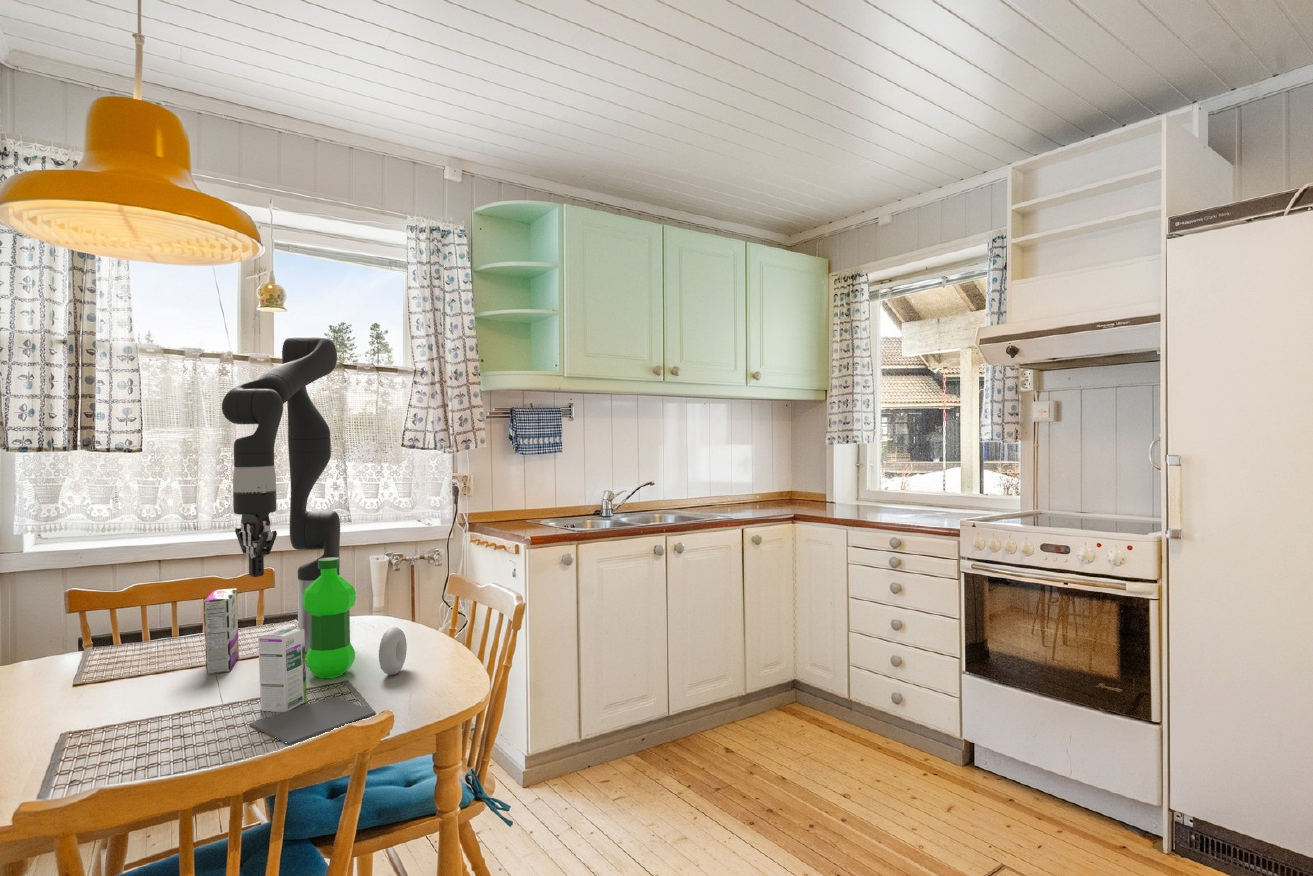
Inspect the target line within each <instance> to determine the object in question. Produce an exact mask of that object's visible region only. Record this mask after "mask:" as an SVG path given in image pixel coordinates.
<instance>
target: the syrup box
mask: <svg viewBox="0 0 1313 876" xmlns="http://www.w3.org/2000/svg"><path fill="white" fill-rule="evenodd" d="M257 639H258V640H257V641H258V665H259V666H258V668H259V672H258V673H259V691H260V692H259V694H260V695H259V696H260V697H259V698H260V700H259V701H260V710H261V711H262V712H268V711H271V712H270V713H282V712H286V711H289V710H292V709H296V708H298V706H299V707H300V705H302V704H304V703H306V702H307V698H308V697H307V680H306V679H307V677H306V676H307V675H306V674H307V670H306V669H307V668H306V667H307V665H306V652H305V638H304V629H302V628H298V627H295V626H294V627H293V626H292V627H290V626H289V627H288V626H287V627H286V626H285V627H279V628H277V629H275V630H271V631H268V632H267V633H266V632H265V633H264V634H260V635H258V638H257Z"/></svg>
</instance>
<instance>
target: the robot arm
mask: <svg viewBox="0 0 1313 876" xmlns="http://www.w3.org/2000/svg"><path fill="white" fill-rule="evenodd" d="M281 358H282V359H281V360H282V364H279V365H276V366H273V367H272V368H270V369H269V370H267V371H265V372H264V373H263V374H262V375H260V377H258V378H257V379H254V380H251V381H248V382H245V383H243V384H241V385H238V386H236V387H233V388H231V389H230V390H229V391H228V392H227V393H226V394H225V396H224V397H223V399H222V403H221V411H222V414H223V416H224V418H225V419H226V420H227V421H229V422H230V423H232V424H235V425H257V427H256V429H255V432H254V433H253V434H250V435H246V436H241V437H239V438H237V439H235V441H234V443H233V475H232V498H233V499H232V503H233V505H232V507H233V514H235V515H241V520H240V527H235V530H234V532H235V535H236V539H237V540H238V543H239V547H240V549H241V552H242V553H243V555H245V554H246V558H248V576H250V577H253V578H257V577H263V576H264V574H265V564H264V563H265V561H264V557H266V556H267V555H270V554H271V551H272V549H273V547H274V544H275V540H276V538H277V536H278V533H277V530H272V529H271V519H270V514H272V513H275V512H277V507H278V506H277V475H276V470H275V443H276V438H277V435H278V430H279V426H280V423H281V420H282V417H283V412H284V404H287V443H288V445H287V447H288V448H287V450H288V460H289V461H288V462H289V463H288V464H289V474H290V475H289V476H290V477H289V479H290V503H289V506H290V508H289V541H290V545H291V546H292V548H293V549H294V550H298V551H305V550H306V551H307V550H323V554H322V555H321V556H319V557H318V558H317V559H315V560H312V561H310V562H307V563H305V564H302V565H301V566H299V567H298V569H297V591H298V592H297V593H298V594H297V595H298V596H297V600H298V601H297V602H298V608H297V628H302V629H304V638H305V653H307V651H308V649H309V648H310V614H309V613H308V612H307V611H306V610H305V609H304V605H303V594H304V591H305V589H306V588H307V587H308V586H309V585H310V584H312V583H313V582H314V581H315V580H316V579H317V578H318V577H320V576H321V569H319V568H318V560H319V559H322V558H331V557H336V558H339V559H340V545H341V544H340V542H341V541H340V540H341V520H340V516H339V513H338V512H337V511H335V510H314V511H313V510H312V511H311V510H310V511H307V505H308V499H309V496H310V495H311V492H312V490H313V488H314V487H315V486H314V485H315V484H316V483H317V481H318V480H319V478H320V476H321V475H322V474H323V472H324V471H325V469H326V468H327V466H328V464H329V462H330V460H331V457H332V446H331V445H332V443H331V429H330V427H329V425H328V423H327V422H326V420H325V418H324V417H323V416H322V414H321V413H320V411H319V409H317V408H316V406H315V404H314V403H313V401H312V399H311V398H310V396H309V394H308V390H307V387H306V386H307V385H308V386H309V385H310V384H312V383H313V382H315V381H317V380H319V379H321V378H323V377H325V376H327V375H328V376H329V374H331V373H332V372H333V371H334V370H335V368H336V365H337V362H338V353H337V348H336V345H335V343H334V342H333V340H331V339H330V338H329V337H324V336H298V335H297V336H296V335H295V336H288V337H287V338H285V339H284V342H283V345H282V350H281ZM337 575H339V576H341V573H340V567H338V568H337Z"/></svg>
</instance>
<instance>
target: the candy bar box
mask: <svg viewBox="0 0 1313 876" xmlns="http://www.w3.org/2000/svg"><path fill="white" fill-rule="evenodd" d="M237 591H238V590H237V588H224V589H216V590H215V589H214V590H213V591H212V592H211V593H210V594H209V595H208V597H206V598H205V599H204V601H203V612H204V613H203V615H204V616H203V618H204V620H203V621H204V639H205V643H204V644H205V645H204V646H205V667H206V668H205V670H206V672H205V673H206V675H215V673H216V674H223V673H229V672H232V669H234V668H233V667H234V666H235V665H236V662H237V661H238V659H239V658H240V651H239V650H240V649H239V625H238V598H237V597H238V596H237V595H238V594H237V593H238V592H237Z"/></svg>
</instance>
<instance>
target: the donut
mask: <svg viewBox="0 0 1313 876" xmlns="http://www.w3.org/2000/svg"><path fill="white" fill-rule="evenodd" d="M407 645H408V643H407V639H406V633H404V631H403V629H401V628H399V627H396V626H393V627H390V628H388V629H387V630H386V631H385V632H384V633H383V635H382V637H381V640H380V644H379V647H378V648H379V649H378V661H379V665H380V669H381V670H382V672H383V673H384V674H386V675H388V676H394V675H396V674H398V673H399V672H401V670H402V669H403V667H404V664H405V661H406V657H407V651H408V650H407V648H408V646H407Z"/></svg>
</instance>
